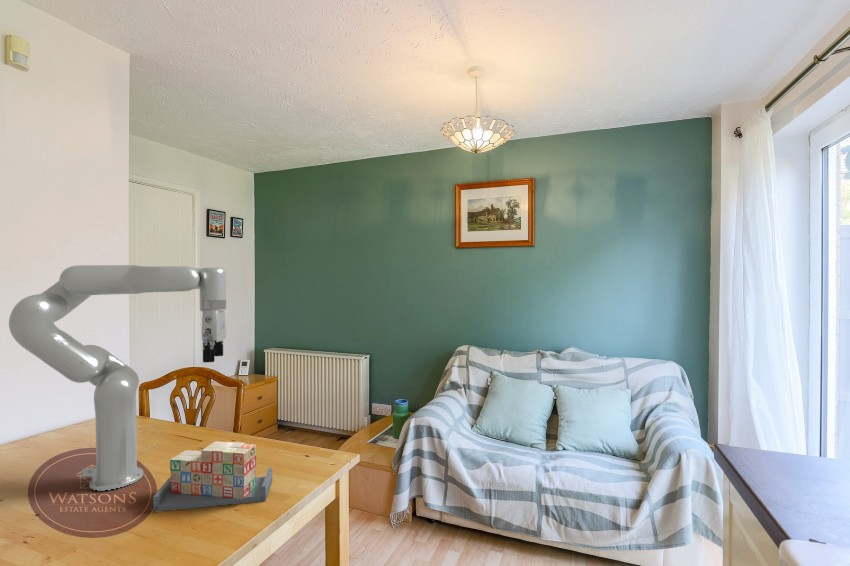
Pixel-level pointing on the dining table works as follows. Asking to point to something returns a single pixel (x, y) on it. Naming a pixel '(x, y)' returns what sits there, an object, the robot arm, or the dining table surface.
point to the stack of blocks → (215, 470)
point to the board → (187, 501)
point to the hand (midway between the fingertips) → (213, 358)
